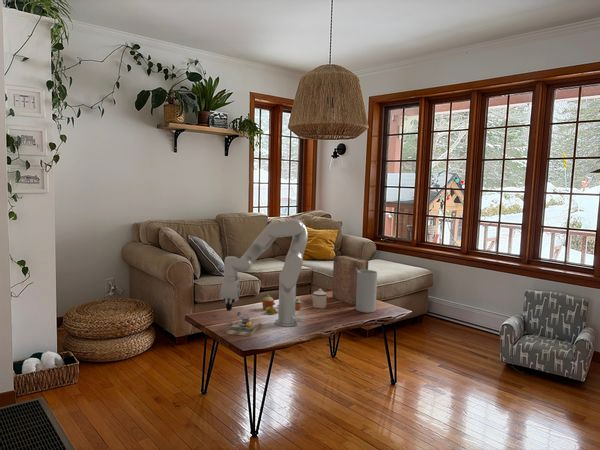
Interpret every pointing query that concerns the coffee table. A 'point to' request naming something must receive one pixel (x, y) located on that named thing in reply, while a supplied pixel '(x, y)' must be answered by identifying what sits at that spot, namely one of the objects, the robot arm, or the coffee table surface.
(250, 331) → the stand
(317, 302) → the teacup with lid
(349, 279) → the book
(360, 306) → the cylinder vase
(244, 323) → the ball-knob lever handle
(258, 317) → the coffee table surface
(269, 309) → the toy tea set
